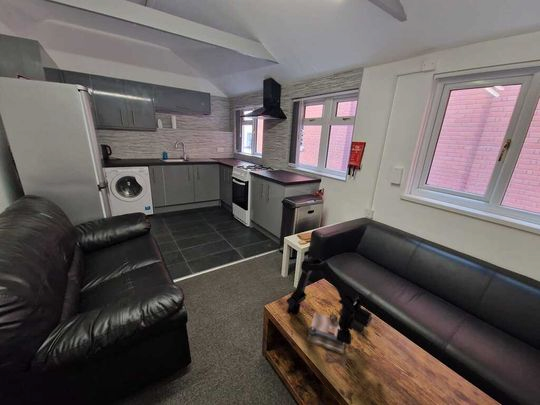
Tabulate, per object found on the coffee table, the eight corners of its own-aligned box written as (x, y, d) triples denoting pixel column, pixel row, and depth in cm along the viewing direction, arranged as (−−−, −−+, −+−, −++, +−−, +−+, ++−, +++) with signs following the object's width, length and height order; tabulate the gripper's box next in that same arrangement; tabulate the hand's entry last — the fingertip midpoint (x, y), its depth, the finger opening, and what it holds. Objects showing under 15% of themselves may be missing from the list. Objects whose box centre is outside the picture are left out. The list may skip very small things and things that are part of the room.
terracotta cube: (328, 334, 116) (328, 331, 115) (328, 331, 118) (329, 328, 117) (333, 336, 115) (334, 333, 114) (334, 333, 117) (334, 330, 116)
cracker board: (307, 340, 114) (308, 333, 112) (314, 314, 131) (315, 308, 129) (343, 354, 108) (344, 347, 106) (345, 324, 125) (346, 318, 123)
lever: (308, 334, 115) (309, 322, 113) (309, 328, 119) (311, 317, 116) (344, 347, 109) (346, 335, 107) (344, 341, 112) (347, 329, 110)
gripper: (365, 335, 94) (359, 361, 99) (364, 305, 111) (359, 329, 116) (339, 326, 98) (334, 351, 103) (342, 298, 115) (337, 321, 120)
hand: (342, 337), depth 110 cm, fingers closed on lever, 3 cm apart
